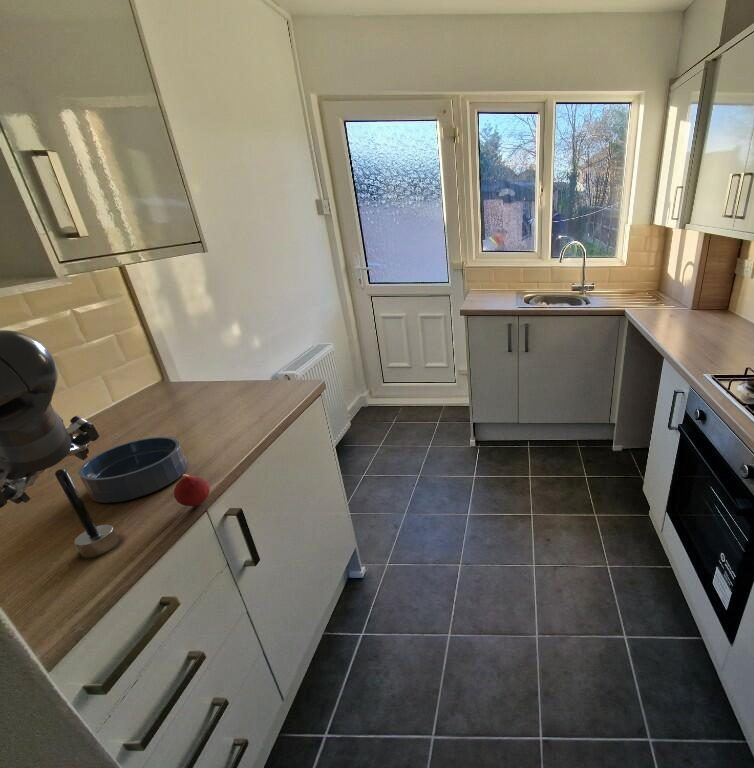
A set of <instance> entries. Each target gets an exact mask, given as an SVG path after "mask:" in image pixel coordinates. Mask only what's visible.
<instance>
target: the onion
mask: <svg viewBox="0 0 754 768" xmlns="http://www.w3.org/2000/svg"><path fill="white" fill-rule="evenodd" d="M210 488H211V487H210V484H209V483H208V482H207V481H206V479H204V478H203V477H200V476H197V475H189V474H186V473H183V474H182V475H181V479H180V480H179V481H178V482H177V483H176V485H175V487H174V490H173V498H174V499H175V500H176V502H177V503H178V504H180V505H182V506H184V507H185V506H186V507H194V508H196V507H198V506H200V505H201V504H203V503H204V502H205V501H206V499H208V497H209V494H210V491H211V489H210Z"/></svg>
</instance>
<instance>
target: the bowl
mask: <svg viewBox="0 0 754 768" xmlns="http://www.w3.org/2000/svg"><path fill="white" fill-rule="evenodd" d="M187 469H188V461H187V457H186V456H185V452H184V450H183V447H182V445H181V443H180V441H179V440H178V439H177V438H174V437H171V436H154V437H153V436H151V437H145V438H140V439H136V440H132V441H128V442H125V443H122V444H120V445H116V446H113V447H111V448H108V449H106V450H104V451H102V452H100V453H98V454H96V455H94V456H92V457H91V458H89V459H88V460H87V461H85V462H84V463H83V464H82V465H81V466H80V467H79V469H78V473H77V474H78V476H79V478H80V480H81V482H82V484H83V486H84V487H85V489H86V491H87V493H88V495H89V498H90V500H92V501H95V502H97V503H102V504H103V503H104V504H110V503H120V502H121V503H122V502H125V501H130V500H133V499H136V498H140V497H144V496H147V495H149V494H152V493H154V492H156V491H158V490H160V489H162V488H163V489H164V488H165V487H166V486H168V485H170V484H172V483H173V482H174V481H177V479H179V478H180V477H182V475H183V474H185V473H186V470H187Z"/></svg>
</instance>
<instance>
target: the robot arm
mask: <svg viewBox="0 0 754 768" xmlns="http://www.w3.org/2000/svg"><path fill="white" fill-rule="evenodd" d="M56 363H57V362H56V360H55V358H54V356H53V355H52V353H51V351H50V350H49V348H47V347H46V346H45V345H44V344H43V343H42V342H41V341H40V340H38V339H36V338H35V337H33V336H31V335H29V334H26V333H23V332H20V331H16V330H11V329H10V330H9V329H8V330H7V329H6V330H5V329H0V509H1V508H3V507H5V506H6V505H7V504H8V501H11V502H12V503H14V504H16V505H19V504H21V503H22V502H23V503H25V504H26V503H27V502H29V501H31V497H30V496H29V495H28V494H27V493H26V489H27V488H30V487H32V486H33V485H34V484H35V483H36V481H37V480H38V478H39V476H40V475H41V474H42V473H44V472H45V471H46V470H47V469H50V468H52V467H54V466H56V465H57V464H59V463H60V462H61V461H63V460H64V459H65V458H66V457H71V456H74V457H76V458H78V459H80V461H84V460H86V459H88V457H89V456H88V454H89V453H90V450H89V447H90V444H89V443H90V442H95V441H97V440H98V439H99V438H100V434H99V432H98V430H97V429H96V427H95V425H94V424H93V423H91V422H90V421H88V420H86V419H85V418H83V417H81V416H79V415H74V416H73V417H72V418H71V419H70V420H69V422H70V424H69V425H68V427H66V426H65V424H64V419H63V418H62V417H61V416H60V414H59V413H58V412H57V411H56V410H55V408H54V407H53V405H52V400H53V397H54V394H55V390H56V387H57V384H58V379H59V378H58V377H59V375H58V374H59V373H58V366H57V364H56ZM74 435H77V436H74Z"/></svg>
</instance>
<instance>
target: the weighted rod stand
mask: <svg viewBox="0 0 754 768" xmlns="http://www.w3.org/2000/svg"><path fill="white" fill-rule="evenodd" d="M54 475H55V477H56V479H57V481H58V483H59V485H60V487H61V488H62V490H63V492H64V494H65V496H66V497H67V499H68V501H69V503H70V505H71V507H72V509H73V510H74V513H75V514H76V516H77V518H78V520H79V521H80V524H81V525H82V527H83V529H84V530H85V531H83V532H81V533H79V535H78V536H77V537H76V538H75V539H74V541H73V542H74V545H75V546H76V549H77V550H78V553H80V555H81V557H82V558H87V559H88V558H95V557H97V556H100V555H102V554H103V555H104V554H105V553H107V552H109V551H111V550H112V549H113V548H114V547H115V546H117V545H118V543H119V541H120V539H119V537H118V534H117V533H116V530H115V528H114V527H113V525H111V524H100V525H96V524H95V522H94V520H93V518H92V516H91V514H90V511H88V509H87V507H86V505H85V503H84V500H83V499H82V497H81V495H80V493H79V492H78V489H77V487H76V486H75V484H74V482H73V480H72V479H71V477H70V474H69V473H68V471H67V470H66V469H64V468H59V469H57V470H55V472H54Z"/></svg>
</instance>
